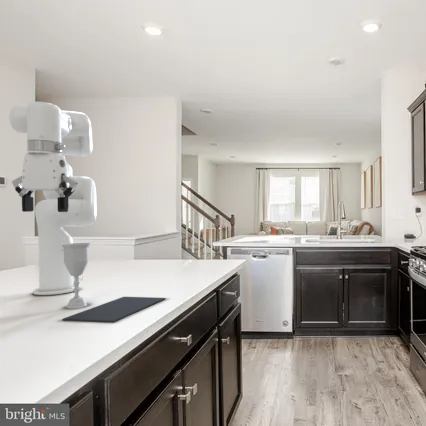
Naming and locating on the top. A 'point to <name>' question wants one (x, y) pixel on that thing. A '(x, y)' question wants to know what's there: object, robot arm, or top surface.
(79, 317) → the mat
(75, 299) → the chalice
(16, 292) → the top surface
